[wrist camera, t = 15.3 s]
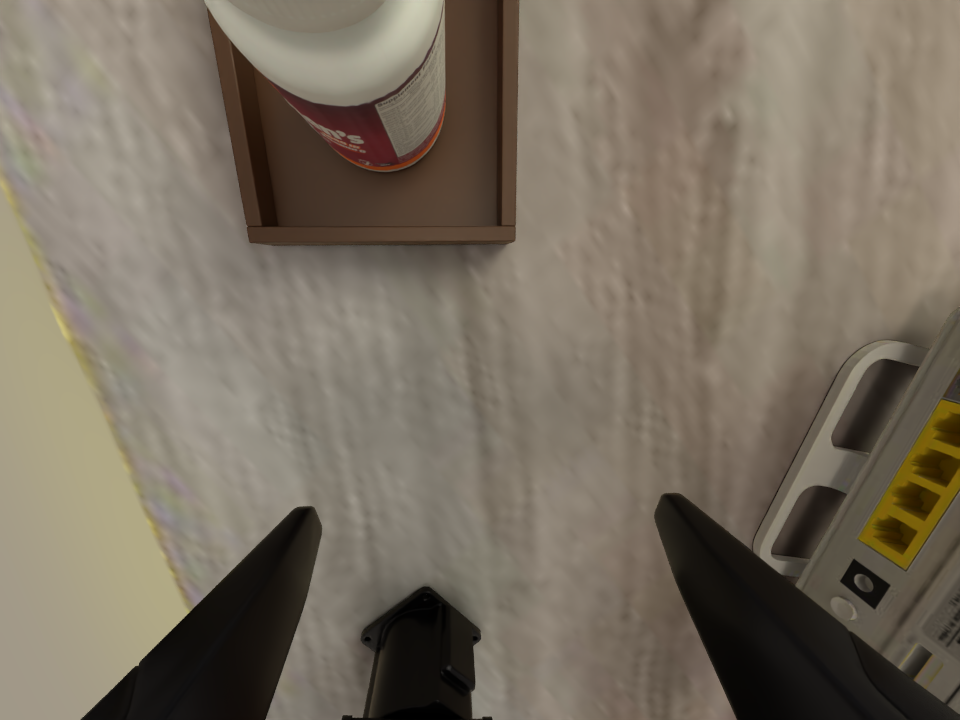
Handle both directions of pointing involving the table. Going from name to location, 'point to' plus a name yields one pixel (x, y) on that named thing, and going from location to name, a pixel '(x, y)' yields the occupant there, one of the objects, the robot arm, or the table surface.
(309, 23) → the pill bottle
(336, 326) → the table surface
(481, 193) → the walnut tray
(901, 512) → the network device
